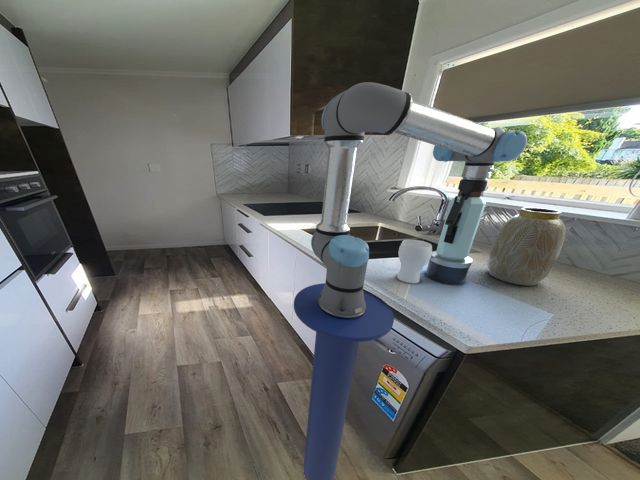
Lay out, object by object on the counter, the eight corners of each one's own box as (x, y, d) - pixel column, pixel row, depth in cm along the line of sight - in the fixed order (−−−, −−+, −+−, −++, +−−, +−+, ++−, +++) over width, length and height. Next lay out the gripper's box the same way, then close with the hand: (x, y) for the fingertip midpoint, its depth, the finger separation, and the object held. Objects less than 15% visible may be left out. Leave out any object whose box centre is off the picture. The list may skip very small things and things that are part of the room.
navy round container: (418, 274, 100) (423, 254, 97) (436, 267, 106) (442, 248, 102) (453, 288, 89) (461, 266, 86) (471, 280, 95) (479, 258, 91)
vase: (550, 280, 93) (585, 211, 83) (535, 293, 85) (572, 218, 75) (492, 265, 107) (516, 203, 97) (475, 274, 99) (499, 209, 89)
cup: (387, 275, 100) (394, 240, 94) (406, 271, 103) (415, 237, 97) (409, 287, 91) (418, 250, 85) (430, 282, 94) (441, 246, 88)
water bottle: (470, 263, 88) (494, 193, 78) (436, 258, 92) (456, 191, 83) (464, 254, 96) (486, 189, 86) (434, 250, 100) (451, 188, 91)
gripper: (470, 181, 75) (450, 248, 84) (503, 177, 85) (482, 238, 93) (444, 180, 82) (427, 242, 90) (477, 176, 91) (460, 233, 99)
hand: (455, 240), depth 92 cm, fingers closed on water bottle, 10 cm apart
